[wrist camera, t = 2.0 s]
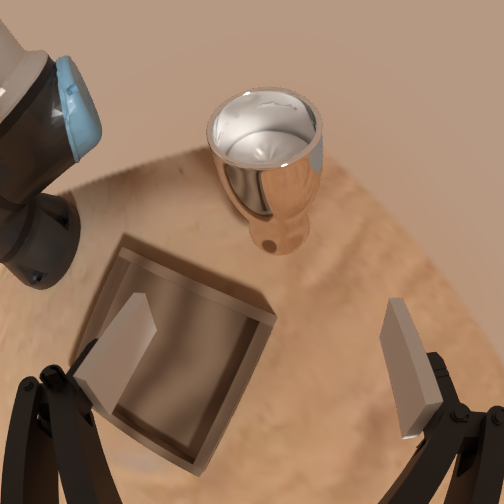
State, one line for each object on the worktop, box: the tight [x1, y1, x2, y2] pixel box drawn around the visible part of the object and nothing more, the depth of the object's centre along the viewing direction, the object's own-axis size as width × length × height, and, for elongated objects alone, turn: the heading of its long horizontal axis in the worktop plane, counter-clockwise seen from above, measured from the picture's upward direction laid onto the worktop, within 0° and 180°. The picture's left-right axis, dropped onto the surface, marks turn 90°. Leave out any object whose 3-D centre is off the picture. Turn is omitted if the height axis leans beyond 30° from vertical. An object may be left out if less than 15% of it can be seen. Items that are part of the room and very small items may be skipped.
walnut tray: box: [73, 247, 277, 477], centre depth 30 cm, size 20×20×2 cm
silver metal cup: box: [206, 87, 323, 256], centre depth 22 cm, size 7×7×15 cm
